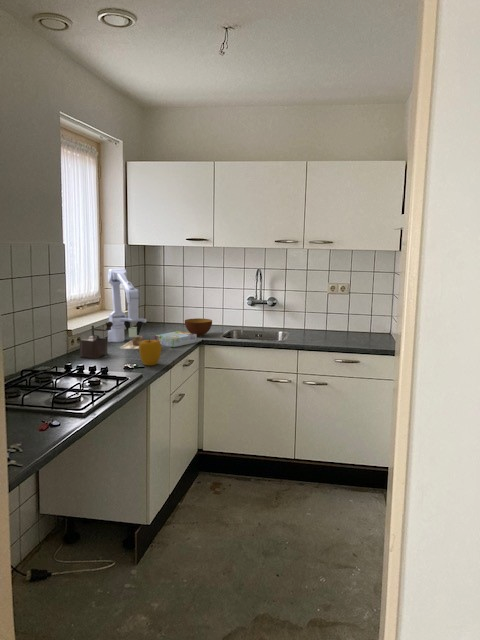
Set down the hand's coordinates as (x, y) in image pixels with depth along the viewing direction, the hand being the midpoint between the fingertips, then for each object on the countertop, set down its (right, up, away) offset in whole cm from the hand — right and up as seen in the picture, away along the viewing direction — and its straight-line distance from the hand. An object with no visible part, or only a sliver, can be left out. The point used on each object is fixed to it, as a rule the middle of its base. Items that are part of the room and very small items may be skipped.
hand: (133, 334), depth 302 cm
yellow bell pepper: (+15, -14, -35) cm, 41 cm away
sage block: (0, -1, 0) cm, 1 cm away
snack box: (+16, -2, +21) cm, 27 cm away
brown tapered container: (-16, -11, -15) cm, 25 cm away
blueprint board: (+1, -7, +11) cm, 13 cm away
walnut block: (+1, -6, +9) cm, 11 cm away
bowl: (+33, -2, +43) cm, 54 cm away
